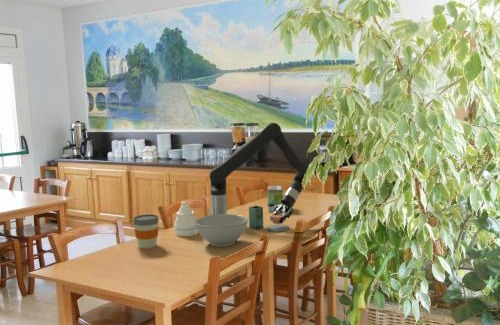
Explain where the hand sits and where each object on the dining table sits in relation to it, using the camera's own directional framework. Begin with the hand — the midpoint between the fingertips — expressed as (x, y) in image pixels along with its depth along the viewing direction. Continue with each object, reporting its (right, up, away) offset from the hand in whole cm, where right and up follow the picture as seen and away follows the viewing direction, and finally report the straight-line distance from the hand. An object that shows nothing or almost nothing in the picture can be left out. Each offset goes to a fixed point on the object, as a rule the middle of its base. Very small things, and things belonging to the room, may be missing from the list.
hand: (275, 221), depth 276 cm
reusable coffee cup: (-67, -10, -24) cm, 72 cm away
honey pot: (-50, -6, -1) cm, 51 cm away
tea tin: (-11, -4, +5) cm, 13 cm away
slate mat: (+1, -4, +2) cm, 5 cm away
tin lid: (+1, -1, +1) cm, 2 cm away
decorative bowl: (-29, -9, -23) cm, 38 cm away
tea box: (+2, +2, +51) cm, 51 cm away
